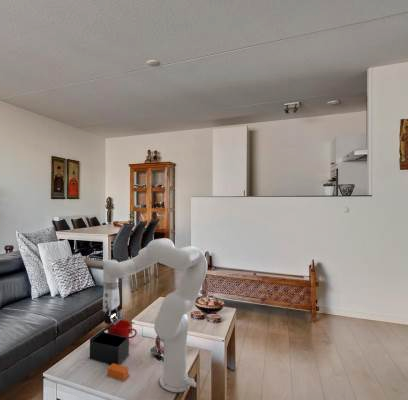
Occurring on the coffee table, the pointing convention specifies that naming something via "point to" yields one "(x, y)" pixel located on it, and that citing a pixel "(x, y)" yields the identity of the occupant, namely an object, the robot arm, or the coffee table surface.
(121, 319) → the bin lid
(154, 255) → the robot arm
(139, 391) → the coffee table surface
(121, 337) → the bin
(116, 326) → the ceramic cup
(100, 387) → the coffee table surface
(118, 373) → the orange block
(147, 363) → the coffee table surface
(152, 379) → the coffee table surface
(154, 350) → the packaged food
